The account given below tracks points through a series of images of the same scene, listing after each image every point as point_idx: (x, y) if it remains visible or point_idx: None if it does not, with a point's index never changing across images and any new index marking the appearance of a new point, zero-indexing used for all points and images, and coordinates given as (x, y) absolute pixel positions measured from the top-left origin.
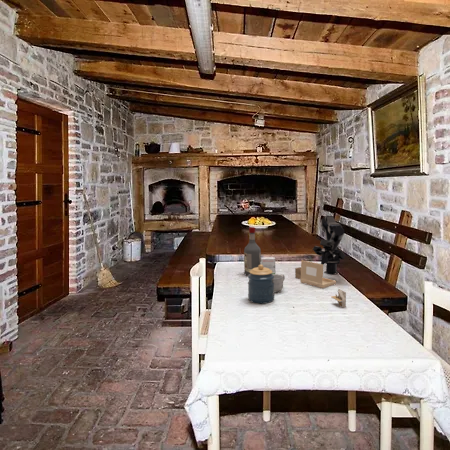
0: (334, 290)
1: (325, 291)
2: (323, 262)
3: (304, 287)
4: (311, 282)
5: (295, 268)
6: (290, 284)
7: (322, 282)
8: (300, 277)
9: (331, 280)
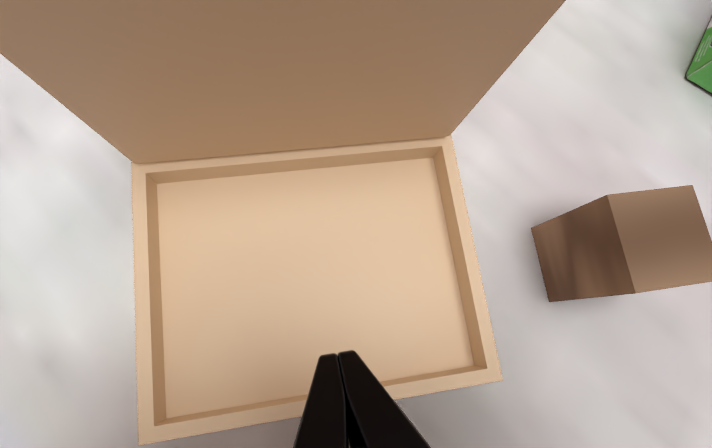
0: (11, 227)
1: (59, 128)
2: (310, 397)
3: None
4: (295, 150)
5: (688, 186)
6: None
7: (126, 155)
8: (543, 224)
9: (208, 416)
